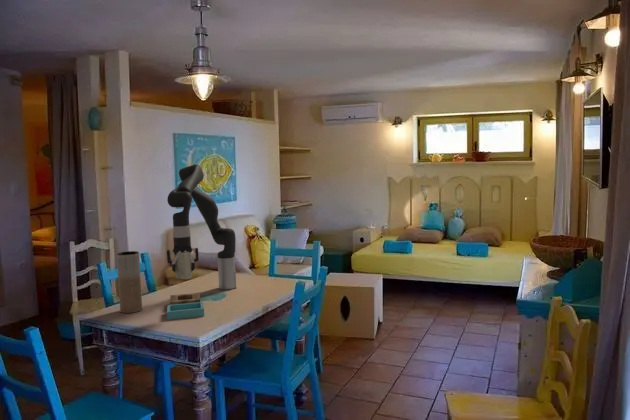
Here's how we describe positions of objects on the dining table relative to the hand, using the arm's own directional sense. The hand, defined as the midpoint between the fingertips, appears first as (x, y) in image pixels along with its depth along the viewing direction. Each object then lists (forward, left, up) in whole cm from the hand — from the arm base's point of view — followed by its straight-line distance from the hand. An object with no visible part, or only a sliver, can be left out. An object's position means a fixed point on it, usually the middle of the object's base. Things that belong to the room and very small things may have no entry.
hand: (183, 271), depth 232 cm
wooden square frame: (0, -16, -20) cm, 25 cm away
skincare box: (0, 0, -3) cm, 3 cm away
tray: (0, 0, -20) cm, 20 cm away
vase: (+25, -16, -20) cm, 36 cm away
